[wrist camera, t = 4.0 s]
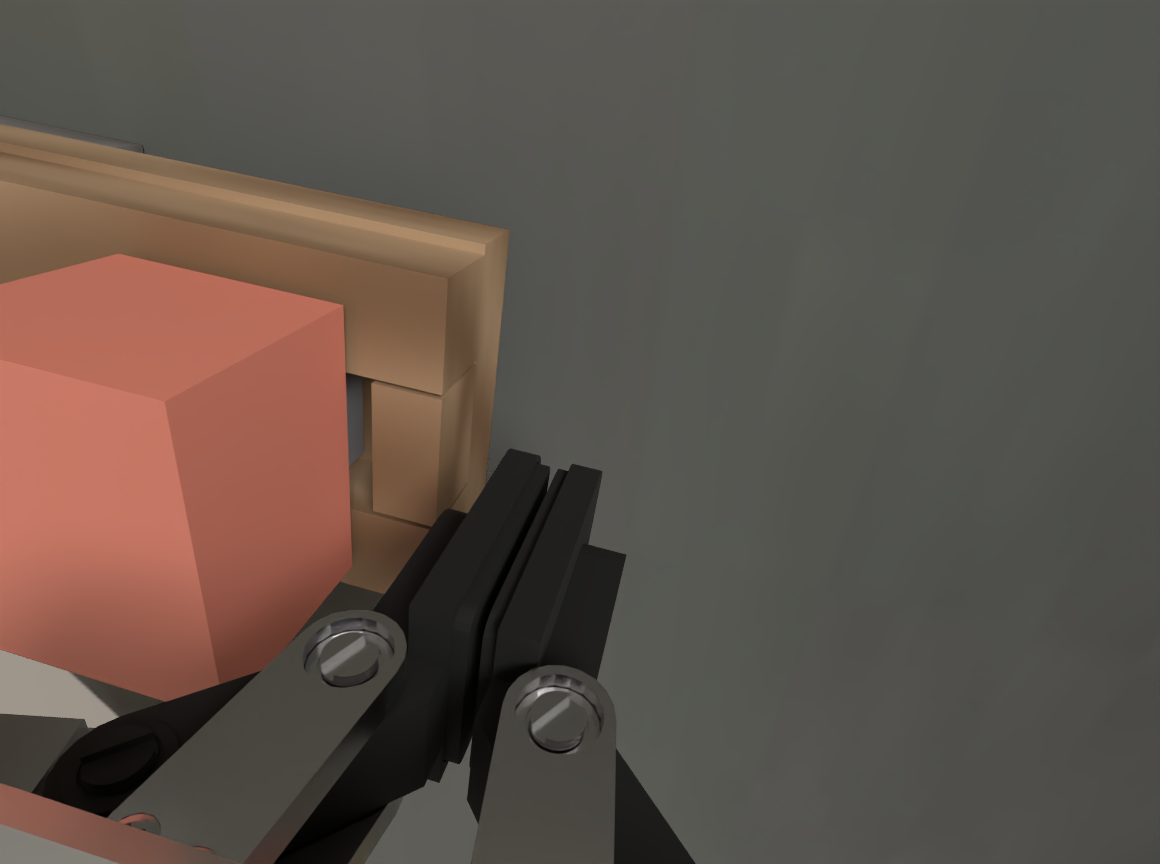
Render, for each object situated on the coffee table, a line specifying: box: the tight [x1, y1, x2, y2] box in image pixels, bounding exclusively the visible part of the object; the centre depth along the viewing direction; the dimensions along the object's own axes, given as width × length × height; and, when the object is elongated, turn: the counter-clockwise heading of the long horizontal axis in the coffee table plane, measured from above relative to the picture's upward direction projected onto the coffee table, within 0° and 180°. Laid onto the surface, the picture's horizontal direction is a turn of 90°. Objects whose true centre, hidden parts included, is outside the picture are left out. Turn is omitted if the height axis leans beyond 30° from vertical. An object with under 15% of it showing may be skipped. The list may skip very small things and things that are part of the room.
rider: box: [0, 254, 364, 702], centre depth 12 cm, size 6×4×6 cm
